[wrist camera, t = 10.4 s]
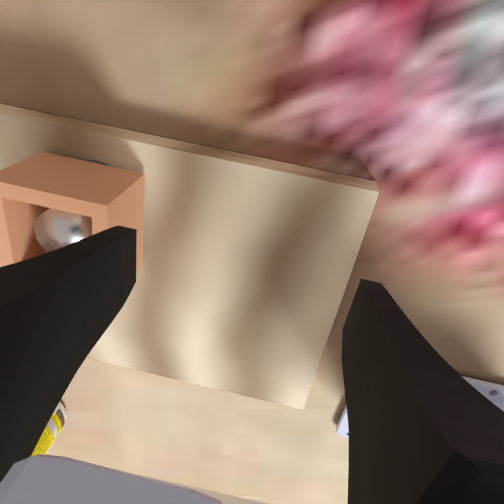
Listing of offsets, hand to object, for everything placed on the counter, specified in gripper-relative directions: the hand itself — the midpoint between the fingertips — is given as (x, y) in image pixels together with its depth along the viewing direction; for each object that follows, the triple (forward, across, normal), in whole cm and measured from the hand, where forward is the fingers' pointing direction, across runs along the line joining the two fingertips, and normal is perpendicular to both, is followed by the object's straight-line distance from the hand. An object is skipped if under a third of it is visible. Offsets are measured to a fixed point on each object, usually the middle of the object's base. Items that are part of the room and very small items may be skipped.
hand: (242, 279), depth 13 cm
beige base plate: (+9, +5, +7) cm, 13 cm away
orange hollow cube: (+8, +9, +3) cm, 12 cm away
